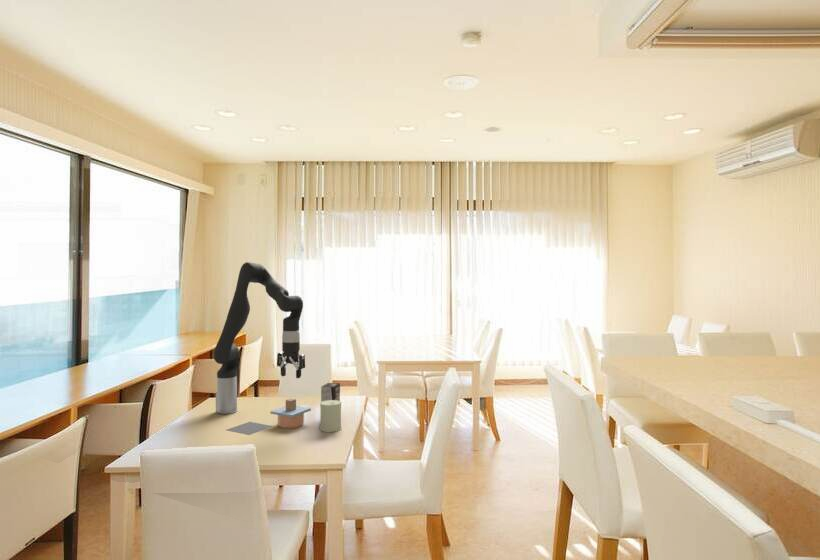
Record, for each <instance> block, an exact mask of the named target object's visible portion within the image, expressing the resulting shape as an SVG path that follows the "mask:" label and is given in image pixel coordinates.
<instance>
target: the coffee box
mask: <svg viewBox="0 0 820 560" xmlns="http://www.w3.org/2000/svg"><path fill="white" fill-rule="evenodd" d="M320 387H321V388H320V389H321V390H320V395H321V396H320V403H321V402H322V401H326V400H338V401H341V383H340V382H327V383H325V384H323V385H322V386H320Z"/></svg>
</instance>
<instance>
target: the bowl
mask: <svg viewBox="0 0 820 560" xmlns="http://www.w3.org/2000/svg"><path fill="white" fill-rule="evenodd" d="M304 423H305V413H303V414H300V415H298V416H295V417H287V416H281V415H277V425H278V427H280V428H283V429H297V428H299V427H302V426H303V425H304Z"/></svg>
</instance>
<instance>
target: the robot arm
mask: <svg viewBox="0 0 820 560" xmlns="http://www.w3.org/2000/svg"><path fill="white" fill-rule="evenodd" d="M236 282H237V283H236V287H235V291H234V294H233V298H232V300H231V303H230V306H229V309H228V313H227V315H226V319H225V322H224V325H223V328H222V332H221V334H220V336H219V338H218V341H217V342H216V346H215V348H214V350H213V359H214V361H215V363H217V364H219V365H221V367H220V368H219V369H218V370H217V372H216V392H215V412H216V413H217V414H221V415H229V414H234V413H236V412H237V411H238V372H239V367H240V365H239V364H240V350H239V347H238V346H237V345H236V344H235V343H234V341H235V339H236V337H237V336H238V335H239V333H240V332H241V330H242V329H243V328H244V326H245V325H246V323H247V321H248V317H249V315H250V310H251V305H250V301H249V298H248V288H249V285H250V283H254V284H256V283H257V284H260V285H262V286H264V287H265V292H266V293H267V295H268V296H269V297H270V298H272V299H273V300H274V301H275V303H276V305H277V307H278V309H279V310H280V311H282V312H284V313H289V316H287V317H284V318H283V319H282V337H281V338H282V341H281V342H282V343H281V344H282V346H281V347H282V348H281V349H282V351H281V352H277V355H276V366H277V367H279V368H280V376H281V377H285V376H286V375H287V371H286V370H287V368H286V366H288V364H290V365H293V367H294V368H295V369H296V370H295V378H296V379H300V378H301V377H302V370H303V369H305V368H306V355H305V354H300V344H301V343H300V339H301V338H300V335H301V334H300V319H301V316H302V313H303V309H304V300H303V299H302V297H300V295H290V294H289V291H288V290H287V289H286V288H285V287H284V286H283V285H282V284H280V283H279V282H278V281H276V279H275V278H274V277H273V276H272V275H271V273H270V272H269V271H268V269H266V267H265V266H264V265H262V264H260V263H255V262H250V261H246V262H244V263H243V264H242V265H241V267H240V270H239V273H238V278H237V281H236Z"/></svg>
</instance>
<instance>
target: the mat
mask: <svg viewBox="0 0 820 560" xmlns="http://www.w3.org/2000/svg"><path fill="white" fill-rule="evenodd" d="M272 427H273V425H269V424H265V423H264V424H263V423H259V422H253V421H248V422H245V423H242V424H239V425H237V426H233V427H230V428H227V429H226V431H227V432H232V433H237V434H238V433H239V434H243V435H248V436H250V435H253V434H256V433H258V432H260V431H261V432H262V431H263V430H266V429H269V428H272Z"/></svg>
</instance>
